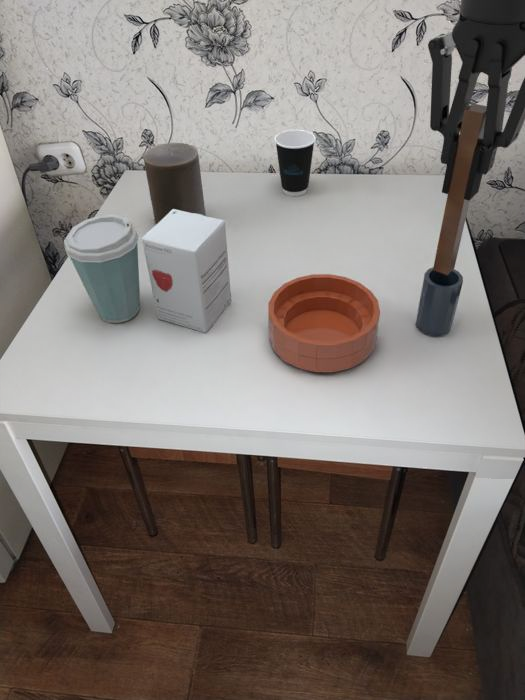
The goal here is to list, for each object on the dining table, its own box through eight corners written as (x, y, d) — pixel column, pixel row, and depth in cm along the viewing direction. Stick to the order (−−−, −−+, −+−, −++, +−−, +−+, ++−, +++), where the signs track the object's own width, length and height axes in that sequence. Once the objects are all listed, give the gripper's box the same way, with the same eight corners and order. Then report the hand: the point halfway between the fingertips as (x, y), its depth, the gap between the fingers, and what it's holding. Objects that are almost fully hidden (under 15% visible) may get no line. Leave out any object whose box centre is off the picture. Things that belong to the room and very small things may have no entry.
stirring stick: (454, 267, 81) (491, 107, 66) (447, 275, 80) (483, 113, 65) (439, 262, 82) (472, 103, 67) (432, 270, 81) (464, 109, 66)
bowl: (394, 329, 88) (399, 298, 84) (338, 392, 79) (341, 361, 75) (308, 292, 95) (309, 262, 91) (248, 346, 87) (246, 315, 82)
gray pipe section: (457, 322, 89) (469, 274, 83) (441, 342, 86) (453, 293, 80) (425, 309, 91) (435, 261, 85) (409, 328, 88) (418, 280, 82)
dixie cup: (302, 177, 124) (302, 125, 116) (321, 193, 118) (323, 140, 111) (268, 187, 121) (266, 134, 114) (287, 204, 116) (286, 150, 108)
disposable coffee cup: (83, 336, 90) (56, 253, 79) (87, 293, 97) (63, 213, 87) (153, 327, 91) (135, 244, 80) (152, 285, 98) (135, 205, 88)
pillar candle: (173, 242, 108) (160, 164, 97) (146, 220, 113) (131, 145, 103) (216, 223, 112) (208, 147, 101) (188, 203, 117) (178, 129, 107)
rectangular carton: (155, 319, 92) (138, 237, 82) (185, 287, 98) (172, 206, 87) (206, 334, 89) (195, 251, 79) (233, 300, 95) (226, 218, 84)
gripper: (417, -30, 58) (390, 187, 75) (576, -12, 51) (509, 223, 68) (449, -44, 63) (417, 164, 79) (601, -29, 56) (532, 196, 72)
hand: (460, 191), depth 73 cm, fingers closed on stirring stick, 2 cm apart
